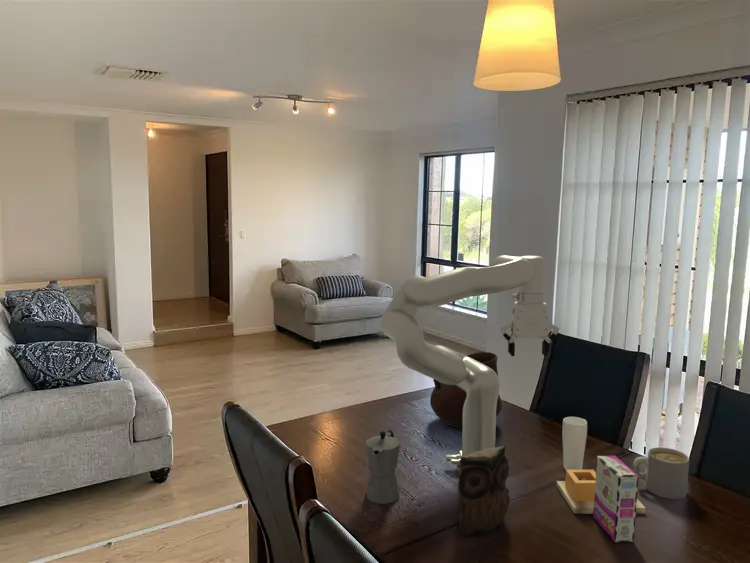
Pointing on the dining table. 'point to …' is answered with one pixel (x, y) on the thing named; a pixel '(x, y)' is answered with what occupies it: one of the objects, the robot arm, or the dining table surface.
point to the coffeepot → (382, 468)
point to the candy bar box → (615, 498)
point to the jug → (458, 394)
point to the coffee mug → (664, 472)
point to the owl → (483, 492)
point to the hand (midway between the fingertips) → (528, 355)
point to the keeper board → (586, 502)
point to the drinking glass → (574, 442)
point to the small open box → (581, 484)
